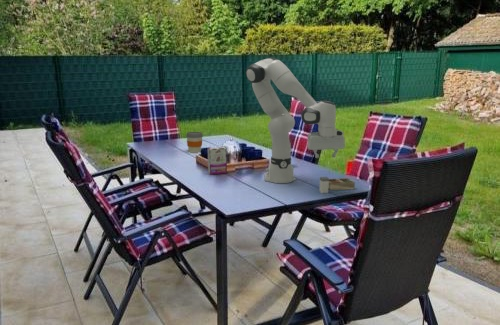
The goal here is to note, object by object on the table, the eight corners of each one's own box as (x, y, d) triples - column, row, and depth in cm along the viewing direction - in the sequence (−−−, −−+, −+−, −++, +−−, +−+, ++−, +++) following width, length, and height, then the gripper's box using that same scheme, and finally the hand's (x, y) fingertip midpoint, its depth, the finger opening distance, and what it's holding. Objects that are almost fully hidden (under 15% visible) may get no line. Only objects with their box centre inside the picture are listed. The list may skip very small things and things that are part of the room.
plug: (319, 191, 239) (320, 177, 237) (325, 190, 239) (326, 176, 238) (321, 193, 235) (322, 178, 234) (328, 192, 236) (328, 178, 234)
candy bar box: (224, 171, 280) (224, 146, 276) (226, 173, 275) (226, 148, 271) (207, 173, 275) (207, 147, 272) (209, 175, 271) (209, 149, 267)
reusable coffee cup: (186, 150, 346) (186, 131, 343) (202, 150, 347) (202, 131, 344) (186, 153, 334) (185, 134, 330) (202, 153, 335) (202, 134, 332)
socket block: (324, 185, 249) (325, 178, 248) (347, 184, 252) (348, 177, 251) (330, 190, 241) (331, 182, 240) (354, 189, 243) (354, 181, 243)
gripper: (309, 133, 225) (308, 159, 228) (346, 132, 229) (345, 158, 232) (305, 131, 231) (305, 156, 234) (342, 130, 235) (340, 155, 238)
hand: (325, 157), depth 233 cm, fingers open, 8 cm apart
